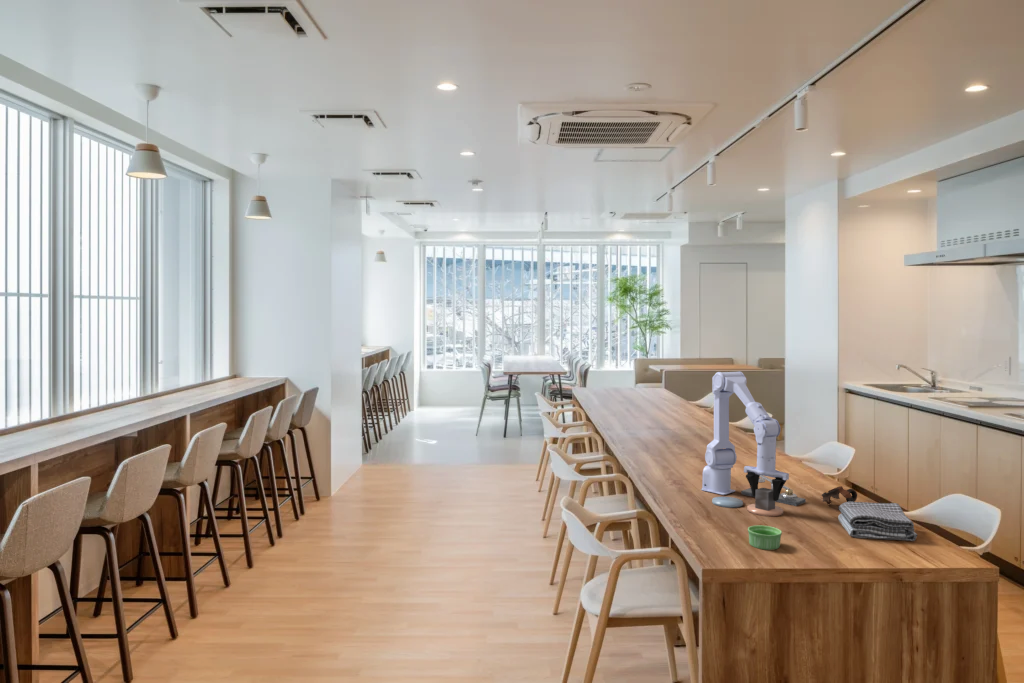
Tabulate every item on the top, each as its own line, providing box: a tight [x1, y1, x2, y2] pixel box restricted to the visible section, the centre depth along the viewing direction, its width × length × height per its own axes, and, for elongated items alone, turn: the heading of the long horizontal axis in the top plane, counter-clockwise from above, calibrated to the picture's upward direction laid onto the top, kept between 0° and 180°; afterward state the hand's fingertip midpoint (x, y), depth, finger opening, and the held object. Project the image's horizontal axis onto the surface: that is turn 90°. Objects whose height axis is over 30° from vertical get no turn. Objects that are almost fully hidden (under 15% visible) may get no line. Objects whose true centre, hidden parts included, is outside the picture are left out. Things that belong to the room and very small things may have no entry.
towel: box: [837, 501, 918, 542], centre depth 207 cm, size 15×18×8 cm
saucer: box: [711, 496, 744, 509], centre depth 237 cm, size 10×10×1 cm
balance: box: [740, 475, 807, 507], centre depth 244 cm, size 20×7×8 cm, turn 43°
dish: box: [746, 503, 784, 517], centre depth 228 cm, size 11×11×1 cm
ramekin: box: [747, 524, 783, 551], centre depth 195 cm, size 9×9×4 cm
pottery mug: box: [821, 486, 858, 505], centre depth 233 cm, size 12×10×8 cm
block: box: [754, 487, 776, 511], centre depth 228 cm, size 4×4×6 cm
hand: (765, 497), depth 228 cm, fingers open, 7 cm apart
